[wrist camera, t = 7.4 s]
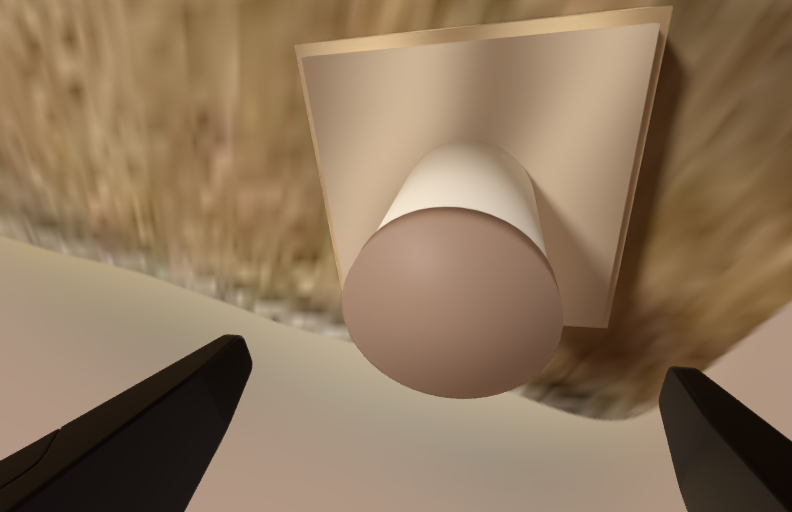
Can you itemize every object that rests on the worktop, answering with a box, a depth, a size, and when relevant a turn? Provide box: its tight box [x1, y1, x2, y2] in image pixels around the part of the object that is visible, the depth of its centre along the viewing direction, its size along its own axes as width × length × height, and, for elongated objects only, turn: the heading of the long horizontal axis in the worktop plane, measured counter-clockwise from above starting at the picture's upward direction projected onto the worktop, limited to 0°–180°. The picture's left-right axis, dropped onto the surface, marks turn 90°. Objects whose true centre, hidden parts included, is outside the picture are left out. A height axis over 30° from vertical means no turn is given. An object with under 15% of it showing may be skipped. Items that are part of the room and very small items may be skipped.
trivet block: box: [294, 6, 673, 328], centre depth 17 cm, size 12×12×3 cm
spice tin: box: [342, 140, 563, 399], centre depth 13 cm, size 5×5×7 cm
